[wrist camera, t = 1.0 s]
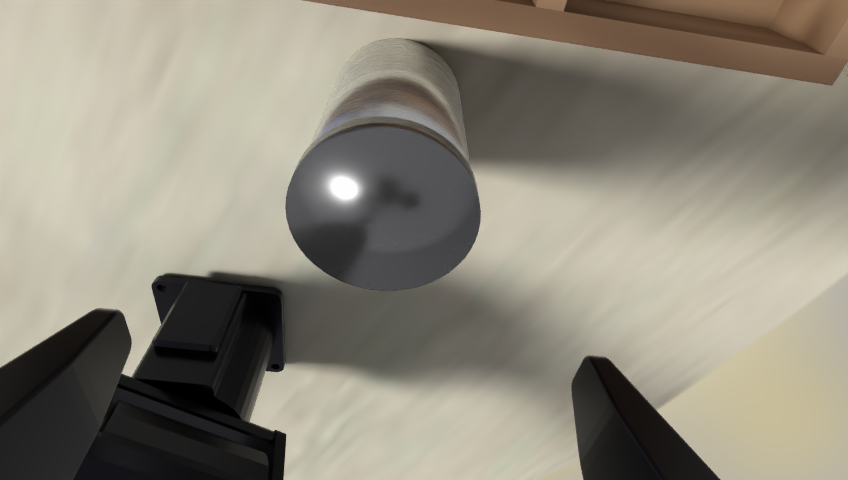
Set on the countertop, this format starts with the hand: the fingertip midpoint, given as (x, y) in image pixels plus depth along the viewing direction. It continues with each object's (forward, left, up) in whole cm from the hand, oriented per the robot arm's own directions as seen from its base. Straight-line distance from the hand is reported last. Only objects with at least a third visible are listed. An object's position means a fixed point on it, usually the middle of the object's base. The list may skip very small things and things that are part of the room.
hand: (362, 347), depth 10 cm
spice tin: (0, 0, -13) cm, 13 cm away
